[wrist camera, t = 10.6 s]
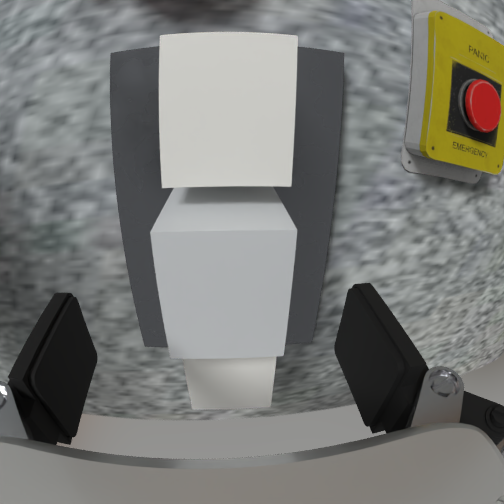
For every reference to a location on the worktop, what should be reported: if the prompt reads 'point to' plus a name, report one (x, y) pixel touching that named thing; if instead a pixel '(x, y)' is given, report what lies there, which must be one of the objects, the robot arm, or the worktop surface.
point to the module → (224, 271)
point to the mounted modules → (227, 156)
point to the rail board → (293, 198)
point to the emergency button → (453, 96)
